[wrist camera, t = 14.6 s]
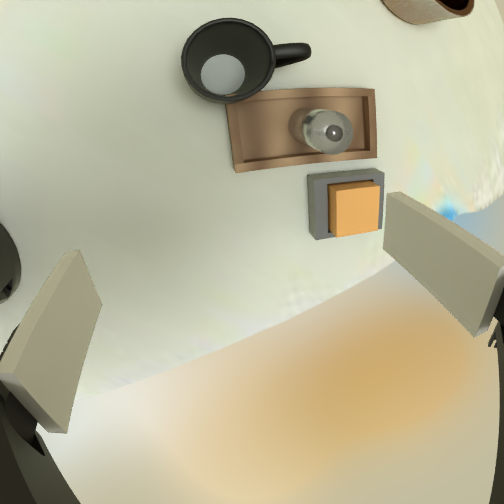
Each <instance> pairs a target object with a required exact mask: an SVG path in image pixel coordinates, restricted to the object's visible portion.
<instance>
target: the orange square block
mask: <svg viewBox="0 0 504 504" xmlns="http://www.w3.org/2000/svg"><path fill="white" fill-rule="evenodd" d="M327 196H328V229H329V230H330V231H331V232H332V233H333V234H334V235H335V236H336V238H337V237H342V236H348V235H354V234H359V233H365V232H371V231H377V230H378V217H379V197H380V186H379V185H377V184H375V183H373V182H372V181H370V180H359V181H350V182H341V183H332V184H327Z"/></svg>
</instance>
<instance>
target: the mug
mask: <svg viewBox="0 0 504 504" xmlns="http://www.w3.org/2000/svg"><path fill="white" fill-rule="evenodd" d="M219 54H227V55H231V56H234V57H235V58H237V59H238V60H239V61H240V62H241V63H242V65H243V66H244V69H245V79H244V82H243V84H242V86H241V87H240V88H239V89H238V90H237V91H235V92H233V93H231V94H236V95H234V96H228V97H226V96H225V95H219V94H215V93H212V92H210V91H209V90H207V89H206V88H205V87H204V85H203V83H202V81H201V69H202V67H203V65H204V63H205V62H206V61H207V60H208V59H209V58H211V57H213V56H215V55H219ZM310 56H311V48H310V46H309V45H308V44H306V43H287V44H278V45H273V44H272V42H271V41H270V39H269V37H268V36H267V35H266V34H265V33H264V32H263V31H262V30H261V29H260V28H259V27H257V26H256V25H254V24H253V23H250V22H248V21H245V20H242V19H236V18H221V19H217V20H212V21H210V22H208V23H206V24H203V25H202V26H200V27H199V28H198V29H196V30H195V31H194V32H193V33H192V34H191V35H190V37H189V38H188V39H187V41H186V43H185V45H184V47H183V51H182V55H181V65H182V70H183V73H184V76H185V78H186V81H187V82H188V84H189V85H190V87H191V89H192V90H193V91H194V92H195V93H196V94H197V95H199V96H201V97H202V98H204V99H205V100H208V101H211V102H214V103H220V104H232V103H237V102H240V101H243V100H245V99H247V98H249V97H251V96H253V95H255V94H256V93H258V92H259V91H260V90H261V89H263V88H264V87H265V85H266V84H267V83H268V82H269V80H270V79H271V77H272V74H273V72H274V69H275V68H278V67H282V66H286V65H289V64H293V63H297V62H300V61H303V60H306V59H308V58H309V57H310ZM227 95H230V94H227Z"/></svg>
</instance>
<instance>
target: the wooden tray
mask: <svg viewBox="0 0 504 504" xmlns="http://www.w3.org/2000/svg"><path fill="white" fill-rule="evenodd" d="M234 95H236V94H230V95H225V96H226V97H228V96H234ZM300 108H315V109H324V110H332V111H338V112H341V113H342V114H344V115H345V116H346V117H347V118H348V119H349V120H350V122H351V124H352V127H353V139H352V142H351V144H350V145H349V147H348V148H347V149H346V150H345V151H343V152H342V153H340V154H336V155H329V154H325V153H323V152H321V151H319V150H317V149H314V148H312V147H310V146H308V145H306V144H303V143H301V142H299V141H297V140H296V139H294V138H293V137H292V135H291V134H290V131H289V127H288V124H289V119H290V117H291V115H292V114H293V113H294V112H295V111H296V110H298V109H300ZM226 112H227V119H228V127H229V134H230V142H231V150H232V157H233V165H234V170H235V172H236V173H240V172H247V171H254V170H261V169H268V168H276V167H284V166H292V165H301V164H310V163H320V162H331V161H342V160H355V159H369V158H377V129H376V106H375V90H374V89H364V88H303V89H283V90H269V91H259V92H258V93H256V94H255V95H253V96H251V97H249V98H247V99H245V100H243V101H240V102H237V103H232V104H226Z"/></svg>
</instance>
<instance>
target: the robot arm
mask: <svg viewBox="0 0 504 504" xmlns="http://www.w3.org/2000/svg"><path fill="white" fill-rule="evenodd" d="M383 249H384V250H385V251H386V252H387V253H388V254H389V255H390V256H392V257H393V258H394V259H395V260H396V261H397V262H398V263H399V264H401V266H403V267H404V268H405V269H406V270H407V271H408V272H409V273H410V274H411V275H412V276H413V277H415V279H417V280H418V281H419V282H420V283H421V284H422V285H423V286H424V287H425V288H426V289H427V290H428V291H429V292H430V293H431V294H432V295H433V296H434V297H435V298H436V299H437V300H438V301H440V303H441V304H442V305H443V306H444V307H445V308H446V309H447V310H448V311H449V312H450V313H451V314H452V315H453V316H454V317H455V318H456V319H457V320H458V321H459V322H460V323H461V324H462V325H463V326H464V327H465V328H466V329H467V331H468V332H470V333H471V335H472V336H473V337H477V336H478V335H480V334H482V333H484V332H485V331H487V330H488V328H489V325H490V323H491V321H492V318H493V316H494V317H495V318H496V319H497V320H498V323H497V325H496V327H495V329H494V332H493V334H492V336H491V338H490V340H489V343H488V347H491V344H492V343H493V341H494V340H496V341H497V342H496V344H495V346H494V348H497V351H498V363H499V381H500V382H499V383H500V420H499V421H500V422H499V438H498V450H497V460H496V467H495V475H494V481H493V487H492V493H491V498H490V502H489V504H504V256H503V255H502V254H500V253H499V252H497V251H496V250H494V249H493V248H492V247H490V246H489V245H487V244H486V243H484V242H483V241H482V240H480V239H479V238H477V237H475V236H474V235H472V234H471V233H469V232H468V231H466V230H465V229H463V228H462V227H460V226H458V225H457V224H455V223H454V222H452V221H450V220H449V219H447V218H445V217H444V216H442V215H440V214H439V213H437V212H435V211H434V210H432V209H430V208H429V207H427V206H425V205H423V204H422V203H420V202H418V201H416V200H414V199H413V198H411V197H409V196H407V195H405V194H403V193H402V192H394V193H387V198H386V217H385V231H384V243H383ZM20 276H21V267H20V260H19V256H18V253H17V250H16V247H15V245H14V243H13V241H12V239H11V237H10V236H9V234H8V233H7V231H6V230H5V229H4V227H3V226H2V225H1V224H0V304H1V303H3V302H5V301H6V300H7V299H9V298H10V296H11V295H12V294H13V292H14V291H15V290H16V288H17V287H18V284H19V281H20ZM101 306H102V303H101V301H100V298H99V296H98V294H97V292H96V289H95V287H94V285H93V282H92V280H91V277H90V275H89V272H88V270H87V267H86V265H85V262H84V260H83V257H82V255H81V252H80V250H77V251H72V252H68V253H65V254H64V255H63V256H62V258H61V259H60V261H59V262H58V264H57V265H56V267H55V268H54V270H53V271H52V273H51V274H50V276H49V277H48V279H47V280H46V282H45V283H44V285H43V286H42V288H41V289H40V291H39V293H38V294H37V296H36V297H35V299H34V301H33V302H32V304H31V306H30V307H29V309H28V311H27V312H26V314H25V316H24V318H23V319H22V321H21V323H20V324H19V325H18V326H17V327H16V328H15V329H14V331H13V332H12V334H11V336H10V338H9V339H8V341H7V342H8V343H7V344H6V345H5V347H4V349H3V352H2V353H1V355H0V504H80V502H79V501H78V499H77V498H76V496H75V495H74V493H73V492H72V490H71V489H70V487H69V486H68V484H67V482H66V481H65V479H64V477H63V476H62V474H61V472H60V471H59V469H58V467H57V465H56V464H55V462H54V460H53V458H52V456H51V454H50V453H49V451H48V449H47V447H46V445H45V443H44V441H43V439H42V437H41V436H40V435H39V433H38V432H37V431H36V426H37V422H38V423H39V424H40V425H41V426H42V427H43V428H44V429H45V430H46V431H47V432H51V433H67V431H68V426H69V420H70V416H71V411H72V407H73V402H74V398H75V394H76V390H77V386H78V382H79V378H80V374H81V371H82V367H83V364H84V360H85V356H86V353H87V350H88V346H89V343H90V340H91V337H92V333H93V330H94V327H95V324H96V321H97V318H98V315H99V312H100V309H101Z"/></svg>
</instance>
